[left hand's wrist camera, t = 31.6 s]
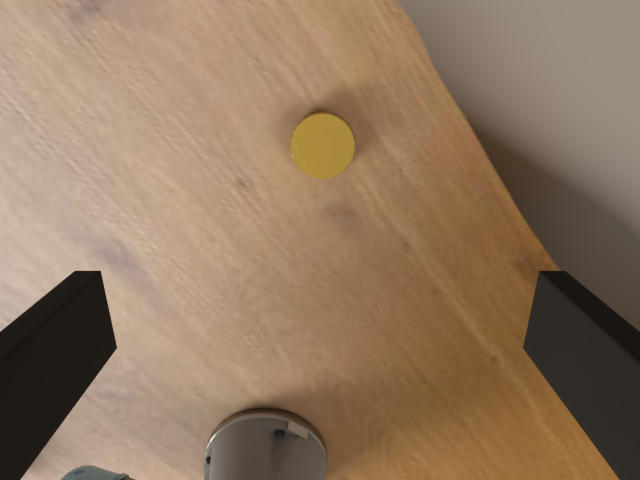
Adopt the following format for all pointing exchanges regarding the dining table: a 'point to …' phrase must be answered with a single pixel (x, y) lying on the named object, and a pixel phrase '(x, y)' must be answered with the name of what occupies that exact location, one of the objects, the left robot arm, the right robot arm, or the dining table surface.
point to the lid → (322, 145)
